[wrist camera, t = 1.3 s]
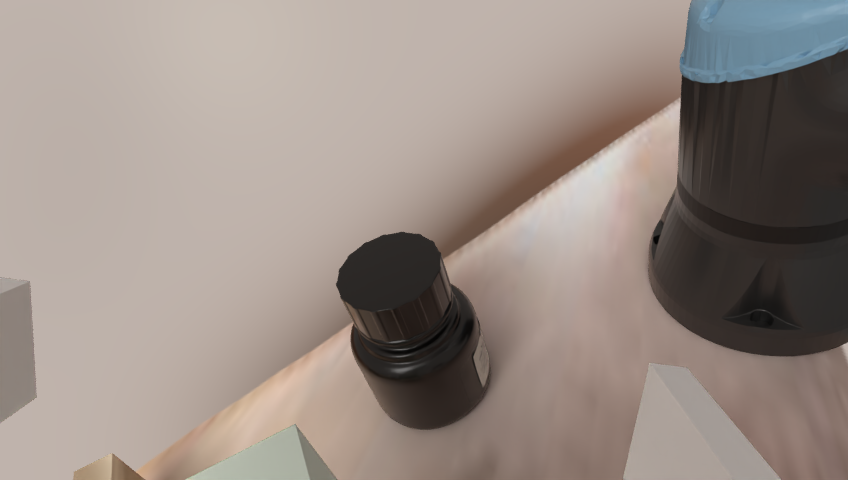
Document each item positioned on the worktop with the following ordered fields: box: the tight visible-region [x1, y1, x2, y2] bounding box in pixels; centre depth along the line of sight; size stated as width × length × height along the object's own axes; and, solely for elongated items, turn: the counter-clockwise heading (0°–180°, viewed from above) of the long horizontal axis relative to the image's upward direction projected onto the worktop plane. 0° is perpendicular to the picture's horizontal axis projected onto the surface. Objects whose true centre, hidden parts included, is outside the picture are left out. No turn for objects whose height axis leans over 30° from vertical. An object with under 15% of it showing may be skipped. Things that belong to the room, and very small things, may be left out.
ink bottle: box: [336, 232, 490, 430], centre depth 40 cm, size 10×9×12 cm
